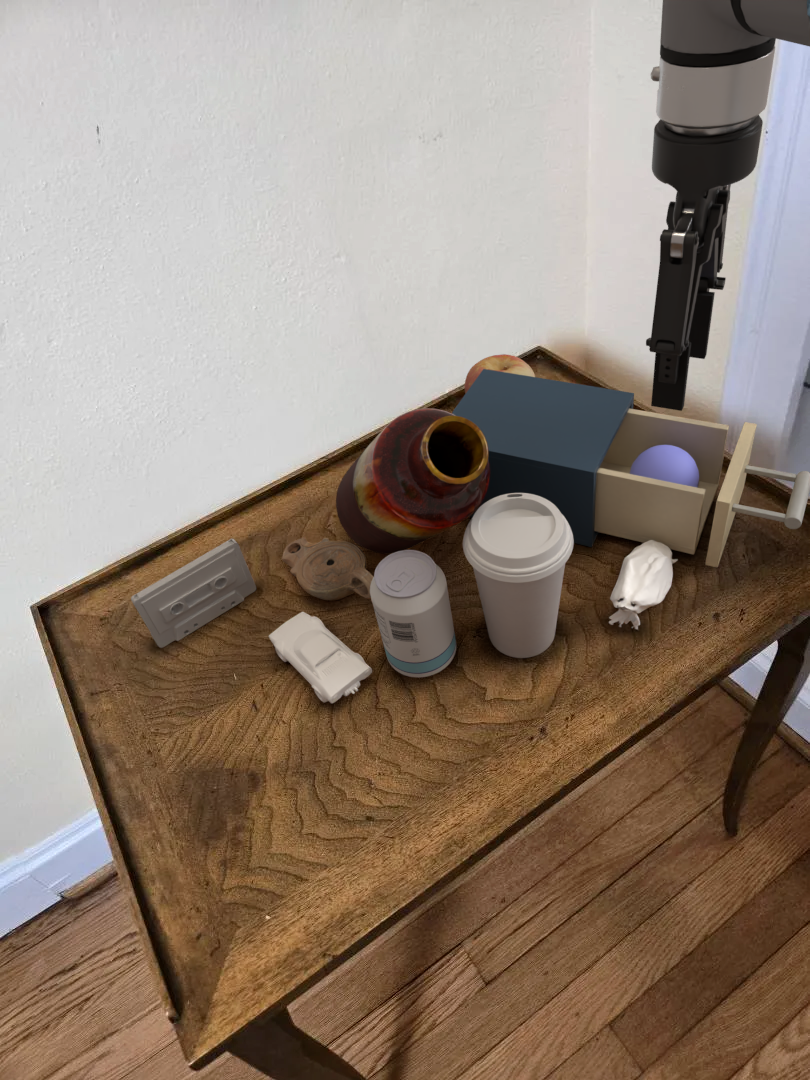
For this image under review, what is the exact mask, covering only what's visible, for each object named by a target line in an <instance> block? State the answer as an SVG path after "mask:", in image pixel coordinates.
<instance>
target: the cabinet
mask: <svg viewBox="0 0 810 1080" xmlns="http://www.w3.org/2000/svg"><path fill="white" fill-rule="evenodd" d="M634 401H635V393H634V392H629V391H624V390H618V389H610V388H604V387H600V386H593V385H586V384H581V383H573V382H567V381H561V380H555V379H547V378H543V377H537V376H535V377H531V376H525V375H519V374H512V373H506V372H500V371H494V370H488V369H483V370H482V372H481V373H480V374H479V376H478V377H477V379H476V380H475V381H474V383H473V384H472V386H471V387H470V388H469V390H468V391H467V393H466V394H464V395H463V397H462V398H461V399H460V400H459V402H458V404H457V405H456V407H455V408H454V409H453V410H452V412H451V413H452V414H454V415H456V416H460V417H463V418H466V419H468V420H470V421H472V422H473V423H474V424H476V425H477V426H478V427H479V428H480V430H481V431H482V432H483V434H484V436H485V438H486V441H487V444H488V451H489V455H488V459H489V464H490V480H489V485H488V489H487V492H486V495H485V497H484V499H483V501H482V502H481V504H480V506H482V505H483V504H484V503H485V502H487V501H489V500H490V499H492V498H495V497H497V496H500V495H504V494H510V493H528V494H534V495H537V496H540V497H543V498H545V499H547V500H548V501H550V502H551V503H553V504H554V505H555V506H556V507H557V508H558V509H559V511H560V512H561V514H562V515H563V516H564V517H565V519H566V520H567V522H568V523H569V525H570V528H571V530H572V534H573V538H574V544H577V545H580V546H584V547H588V548H593V546H594V543H595V541H596V539H597V537H598V535H599V533H600V532H597V531H594V528H595V498H596V473H597V471H598V469H599V467H600V465H601V463H602V461H603V459H604V457H605V455H606V453H607V451H608V449H609V447H610V445H611V443H612V441H613V439H614V437H615V435H616V433H617V431H618V429H619V427H620V425H621V423H622V421H623V419H624V417H625V415H626V413H627V411H628V410H629V408H630V409H634V404H635V403H634ZM480 506H479V507H480ZM479 507H478V508H479ZM478 508H477V509H476V510H475V512H476V511H477V510H478ZM475 512H474V513H473V514H472V515H470V516H469V517H468V518H471V519H472V517H473V516H474V514H475Z"/></svg>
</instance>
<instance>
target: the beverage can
mask: <svg viewBox="0 0 810 1080" xmlns="http://www.w3.org/2000/svg"><path fill="white" fill-rule="evenodd" d="M449 595H450V594H449V590H448V582H447V578H446V576H445V572H444V571H443V570H442V568H441V567H440V566H439V565H438V564H437V563H435V561H434V559H433V558H432V557H431V556H430V555H428V554H427V553H425V552H422V551H420V550H416V549H406V550H402V551H398V552H395V553H389V554H387V555H386V556H385V557H384V558H382V560H380V562H379V563H378V564H377V565H376V567H375V570H374V573H373V579H372V582H371V585H370V596H371V598H370V600H371V603H372V606H373V610H374V614H375V618H376V622H377V625H378V630H379V633H380V637H381V640H382V645H383V648H384V651H385V652H384V653H385V656H386V659H387V662H388V664H389V665H390V667H391V668H392V669H394V670H395V671H396V672H397V673H399V674H401V675H403V676H406V677H410V678H426V677H430V676H431V677H432V676H435V675H436V674H438V673H440V672H442V671H443V670H445V669H446V668H447V667H448V666H449V665H450V664H451V662H452V661H453V659H454V657H455V655H456V651H457V639H456V633H455V626H454V619H453V615H452V607H451V601H450V596H449Z"/></svg>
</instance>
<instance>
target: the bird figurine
mask: <svg viewBox="0 0 810 1080" xmlns="http://www.w3.org/2000/svg"><path fill="white" fill-rule="evenodd" d="M678 561H679V559H678V558H673V552H672V549H670V548H669V547H668V546H666V545H664V544H662V543H660V542H656V541H654V540H649V541H647V542H645V543H643V542H642V543H641V544H640V545H637V546H636V547H634V548H633V549H632V551H631V552H630V553H629V554H628V555H626V556H625V557H624V559H623V560H622V564H621V568H620V571H619V574H618V577H617V580H616V582H615V585H614V587H613V589H612V591H611V594H610V596H609V600H610V601H611V602H612V604H613V607H614V609H615V608H616V609H618V610H617V611H615V612H614V613H613V614H611V615H610V616H608V619H609V621H608V624H609V625H610V626H614V623H617V624H619V625H618V627H619V628H622V625H623V624H625V625H628V623H629V622H631V624H632V625H633V626H631V629H633V628H634V630H637V631H639V626H640V625H641V620H640V617H639V615H638V614H641V613H642V612H644V611H645V610H647V609H648V608H650V607H654V606H656V605H659V604H660V603H662V602H663V601H664V600H665V598H666V595H667V594H668V593H669V591H670V589H671V587H672V582H673V578H674V569H673V567H674V566H673V564H675V563H677V562H678Z"/></svg>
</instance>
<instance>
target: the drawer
mask: <svg viewBox="0 0 810 1080" xmlns="http://www.w3.org/2000/svg"><path fill="white" fill-rule="evenodd" d="M757 425H758V424H757V423H752V422H746V421H744V422H743V425H742V428H741V431H740V433H739V436H738V440H737V442H736V445H735V448H734V451H733V454H732V456H731V458H730V462H729V465H728V468H727V471H726V473H725V476H724V479H723V482H722V484H721V488H720V491H719V493H718V496H717V499H716V503H715V507H714V513H713V520H712V524H711V531H710V536H709V541H708V547H707V553H706V558H705V566H708V567H709V566H710V567H713V568H718V567H719V564H720V562H721V558H722V556H723V553H724V550H725V546H726V543H727V540H728V537H729V534H730V531H731V528H732V525H733V521H734V520H735V515H736V513H739V514H743V515H748V516H752V517H756V518H757V517H758V518H761V519H762V518H763V519H766V520H771V521H776V522H781V523H783V524H784V526H785V527H786V528H788V529H790V530H797V529H799V528H800V527H802V523H803V520H804V516H805V513H806V512H805V511H806V507H807V503H808V500H809V496H810V471H807V470H802V471H798V473H797V474H796V473H792V472H787V471H782V470H775V469H770V468H765V467H760V466H755V465H750V459H751V455H752V451H753V450H752V449H753V446H754V440H755V435H756V431H757ZM729 428H730V425H729V424H722V423H718V422H712V421H706V420H700V419H693V418H688V417H683V416H676V415H670V414H664V413H658V412H651V411H648V410H647V411H646V410H640V409H636V408H635V409H634V408H633V409H630V408H629V410H628V411H627V413H626V415H625V417H624V419H623V421H622V423H621V425H620V427H619V429H618V431H617V433H616V435H615V437H614V439H613V441H612V443H611V445H610V447H609V449H608V451H607V453H606V455H605V457H604V459H603V461H602V463H601V465H600V467H599V469H598V471H597V473H596V498H595V528H594V531H597V532H599V533H601V534H606V535H610V536H613V537H618V538H621V539H622V538H623V539H626V540H631V541H634V542H639V543H642V544H643V543H645V542H647V541H649V540H654V541H656V542H660V543H662V544H664V545H666V546H668V547H669V548H670V550H671V551H672V550H673V551H677V552H681V553H686V554H689V555H695V553H696V550H697V547H698V544H699V542H700V538H701V536H702V533H703V530H704V527H705V525H706V521H707V519H708V516H709V514H710V511H711V508H712V505H713V502H714V499H715V496H716V494H717V491H718V488H719V487H720V486H719V485H720V479H721V475H722V474H721V473H722V468H723V462H724V458H725V452H726V445H727V441H728V434H729ZM657 445H672V446H676V447H679V448H681V449H683V450H684V451H686V452H687V453H688V454H689V455H690V456H691V457H692V458H693V459H694V461H695V463H696V465H697V468H698V471H699V483H698V488H697V487H692V486H687V485H682V484H677V483H672V482H667V481H662V480H658V479H653V478H648V477H643V476H638V475H633V474H630V470H631V466H632V464H633V462H634V461H635V460H636V458H637V457H638V456H639V455H640V454H641V453H642V452H644V451H645V450H647V449H649V448H651V447H654V446H657ZM747 474H750V475H756V476H761V477H765V478H771V479H777V480H781V481H787V482H792V483H793V487H792V490H791V494H790V497H789V502H788V505H787V509H786V513H782V512H777V511H773V510H768V509H763V508H758V507H754V506H748V505H745V504H740V501H741V497H742V495H743V492H744V488H745V483H746V478H747Z"/></svg>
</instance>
